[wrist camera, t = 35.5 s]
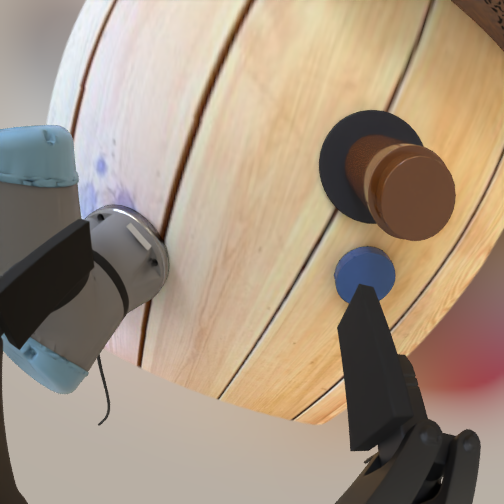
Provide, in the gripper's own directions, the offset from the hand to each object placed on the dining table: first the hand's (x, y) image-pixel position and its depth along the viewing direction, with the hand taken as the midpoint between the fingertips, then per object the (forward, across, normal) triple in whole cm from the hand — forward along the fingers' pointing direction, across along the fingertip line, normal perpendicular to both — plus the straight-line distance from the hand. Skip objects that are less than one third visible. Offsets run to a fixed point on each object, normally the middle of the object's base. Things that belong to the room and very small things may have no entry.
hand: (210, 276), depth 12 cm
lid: (+18, +16, -9) cm, 26 cm away
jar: (+19, +12, +4) cm, 23 cm away
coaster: (+20, +12, +4) cm, 24 cm away
